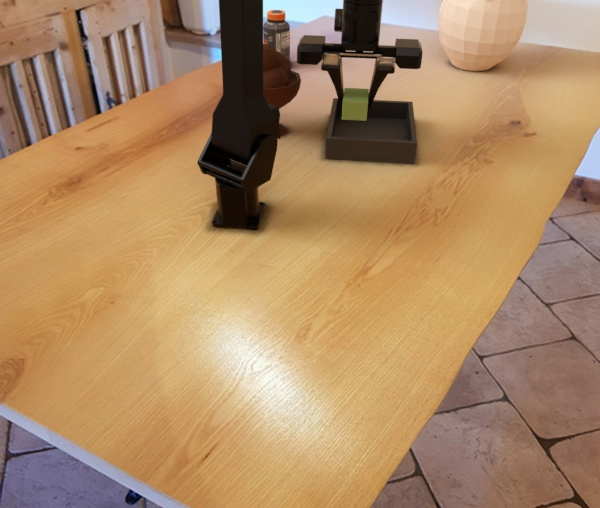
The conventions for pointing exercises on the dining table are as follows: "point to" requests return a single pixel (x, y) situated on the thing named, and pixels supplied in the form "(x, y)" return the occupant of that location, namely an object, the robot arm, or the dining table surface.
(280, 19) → the pill bottle
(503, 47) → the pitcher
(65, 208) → the dining table surface
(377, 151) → the dark brown tray
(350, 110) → the green block
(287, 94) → the ice cream bowl
